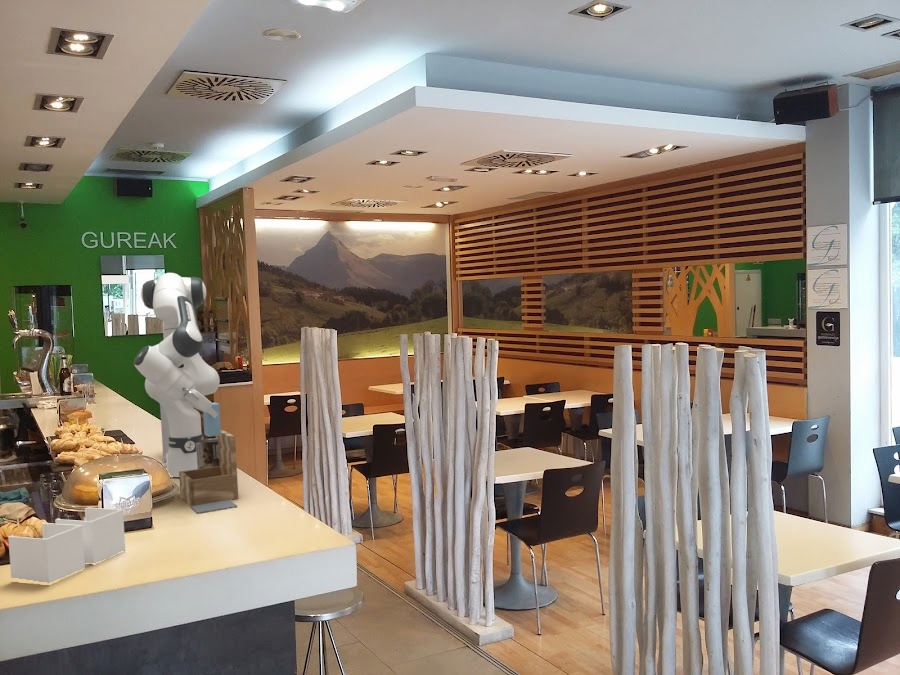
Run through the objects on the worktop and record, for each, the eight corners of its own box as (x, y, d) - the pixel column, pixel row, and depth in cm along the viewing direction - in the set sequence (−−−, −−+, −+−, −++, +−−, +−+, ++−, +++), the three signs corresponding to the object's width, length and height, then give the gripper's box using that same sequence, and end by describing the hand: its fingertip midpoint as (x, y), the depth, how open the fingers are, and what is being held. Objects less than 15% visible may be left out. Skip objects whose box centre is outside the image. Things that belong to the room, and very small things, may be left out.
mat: (190, 507, 248) (190, 506, 248) (229, 501, 254) (229, 499, 254) (197, 513, 240) (197, 512, 240) (237, 507, 246) (237, 505, 246)
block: (204, 434, 260) (202, 403, 260) (216, 433, 262) (215, 402, 262) (208, 436, 256) (206, 405, 256) (220, 435, 258) (219, 404, 258)
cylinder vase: (169, 462, 319) (165, 399, 318) (159, 457, 329) (155, 396, 328) (200, 457, 326) (196, 395, 325) (189, 453, 336) (186, 393, 335)
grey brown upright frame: (231, 484, 277) (228, 437, 276) (224, 488, 271) (221, 441, 270) (205, 484, 278) (202, 438, 277) (197, 489, 272) (195, 441, 271)
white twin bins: (49, 586, 183) (46, 539, 183) (11, 583, 187) (8, 536, 186) (125, 551, 207) (122, 509, 207) (90, 549, 211) (87, 507, 210)
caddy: (180, 496, 263) (176, 435, 262) (225, 489, 270) (221, 429, 269) (191, 506, 249) (187, 442, 248) (238, 498, 256) (234, 436, 255)
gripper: (194, 382, 246) (228, 410, 251) (180, 377, 263) (212, 404, 269) (180, 398, 244) (215, 426, 249) (166, 392, 261) (199, 418, 267)
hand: (213, 414), depth 259 cm, fingers closed on block, 5 cm apart
